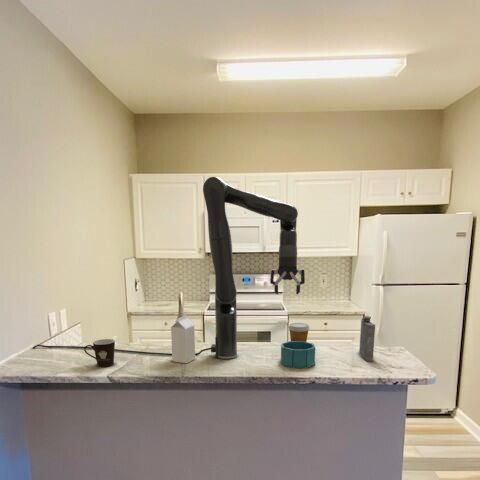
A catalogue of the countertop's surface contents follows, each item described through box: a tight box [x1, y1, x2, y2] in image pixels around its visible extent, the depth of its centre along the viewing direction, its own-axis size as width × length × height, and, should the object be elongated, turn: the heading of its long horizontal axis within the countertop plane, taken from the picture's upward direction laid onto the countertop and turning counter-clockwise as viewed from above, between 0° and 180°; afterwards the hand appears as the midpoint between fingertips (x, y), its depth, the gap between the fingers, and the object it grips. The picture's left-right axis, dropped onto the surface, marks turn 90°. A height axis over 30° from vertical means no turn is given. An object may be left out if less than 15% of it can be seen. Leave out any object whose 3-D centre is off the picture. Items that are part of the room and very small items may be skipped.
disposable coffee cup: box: [288, 322, 310, 342], centre depth 187 cm, size 10×10×12 cm
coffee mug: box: [83, 338, 116, 368], centre depth 167 cm, size 12×9×10 cm
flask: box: [358, 315, 376, 363], centre depth 176 cm, size 4×14×18 cm, turn 177°
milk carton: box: [170, 315, 196, 364], centre depth 172 cm, size 7×7×19 cm
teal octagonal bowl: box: [280, 340, 316, 369], centre depth 169 cm, size 14×14×8 cm
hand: (287, 294), depth 171 cm, fingers open, 8 cm apart
